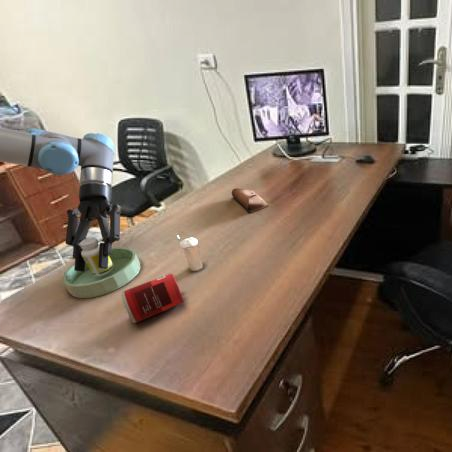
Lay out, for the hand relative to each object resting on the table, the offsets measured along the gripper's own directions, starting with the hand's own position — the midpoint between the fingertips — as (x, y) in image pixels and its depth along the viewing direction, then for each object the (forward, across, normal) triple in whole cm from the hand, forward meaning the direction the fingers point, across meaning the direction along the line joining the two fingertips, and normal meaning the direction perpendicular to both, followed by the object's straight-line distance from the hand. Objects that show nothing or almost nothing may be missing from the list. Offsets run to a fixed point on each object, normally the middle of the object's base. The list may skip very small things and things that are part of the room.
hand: (91, 269), depth 91 cm
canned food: (+9, -26, +7) cm, 28 cm away
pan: (+1, 0, -6) cm, 6 cm away
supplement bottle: (0, 0, -5) cm, 5 cm away
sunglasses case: (-26, -35, -34) cm, 56 cm away
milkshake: (+2, -25, -6) cm, 26 cm away
